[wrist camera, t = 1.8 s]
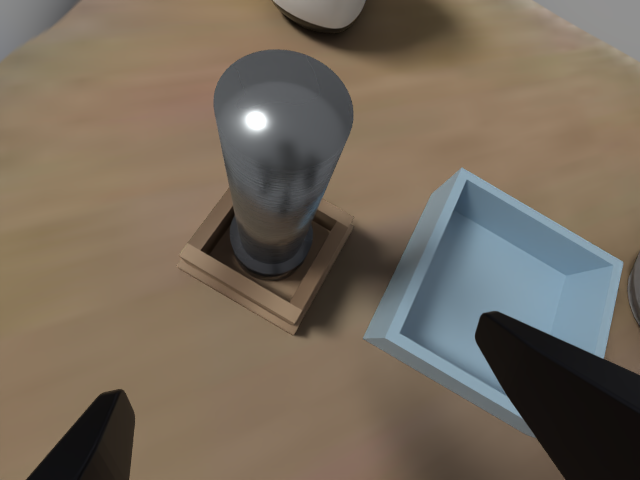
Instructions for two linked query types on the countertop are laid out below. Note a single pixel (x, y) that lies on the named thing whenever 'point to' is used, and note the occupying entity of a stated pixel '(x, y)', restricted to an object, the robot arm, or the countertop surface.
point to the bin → (490, 288)
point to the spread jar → (322, 13)
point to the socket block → (258, 295)
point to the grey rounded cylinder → (279, 153)
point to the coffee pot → (635, 289)
